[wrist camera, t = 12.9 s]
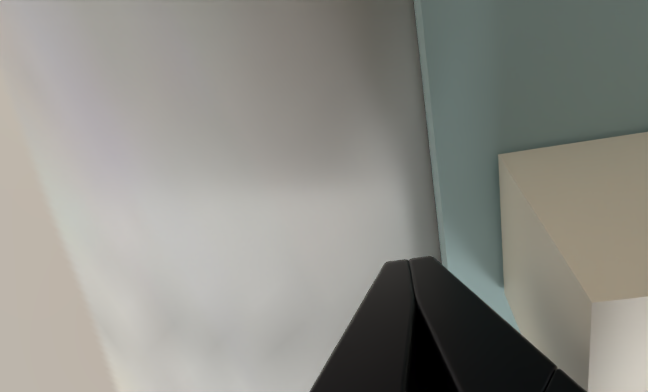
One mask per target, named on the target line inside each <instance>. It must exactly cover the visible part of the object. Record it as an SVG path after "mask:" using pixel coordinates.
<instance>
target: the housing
mask: <svg viewBox="0 0 648 392" xmlns="http://www.w3.org/2000/svg"><path fill="white" fill-rule="evenodd" d="M414 8H415V17H416V27H417V36H418V45H419V55H420V64H421V73H422V83H423V92H424V101H425V111H426V120H427V129H428V139H429V148H430V157H431V167H432V176H433V185H434V195H435V204H436V213H437V223H438V232H439V241H440V250H441V260H442V265H443V266H444V267H445V268H446V269H448V270H449V271H450V272H451V273H452V274H453V275H454V276H456V277H457V278H458V279H459V280H460V281H461V282H462V283H463V284H465V285H466V286H467V287H468V288H469V289H470V290H471V291H473V292H474V293H475V294H476V295H477V296H478V297H479V298H480V299H482V300H483V301H484V302H485V303H486V304H487V305H488V306H490V307H491V308H492V309H493V310H494V311H495V312H496V313H498V314H499V315H500V316H501V317H502V318H503V319H504V320H505V321H507V322H508V323H509V324H510V325H511V326H512V327H513V328H515V329H516V330H517V331H518V332H519V333H520V330H519V328H518V325H517V323H516V321H515V318H514V316H513V313H512V311H511V308H510V306H509V304H508V301H507V299H506V296H505V294H504V277H503V254H502V232H501V209H500V187H499V165H498V154H504V153H510V152H517V151H523V150H530V149H537V148H543V147H550V146H557V145H563V144H570V143H576V142H583V141H590V140H596V139H603V138H610V137H616V136H623V135H629V134H636V133H643V132H648V0H414ZM520 334H521V333H520Z"/></svg>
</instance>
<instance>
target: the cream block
mask: <svg viewBox="0 0 648 392" xmlns="http://www.w3.org/2000/svg"><path fill="white" fill-rule="evenodd" d="M498 165H499V187H500V209H501V232H502V254H503V277H504V294H505V296H506V299H507V301H508V304H509V306H510V308H511V311H512V313H513V316H514V318H515V321H516V323H517V325H518V328H519V330H520V333H521V335H523V336H524V337H525V338H526V339H527V340H528V341H529V342H530V343H532V344H533V345H534V346H535V347H536V348H537V349H538V350H540V351H541V352H542V353H543V354H544V355H545V356H546V357H548V358H549V359H550V360H551V361H552V362H553V363H554V364H555V365H556V366H557V369H561V370H563V371H564V372H565V373H566V374H567V375H568V376H569V377H570V378H572V379H573V380H574V381H575V382H576V383H577V384H578V385H580V386H581V387H582V388H583V389H584V390H586V391H587V392H648V132H643V133H636V134H629V135H623V136H616V137H610V138H603V139H596V140H590V141H583V142H576V143H570V144H563V145H557V146H550V147H543V148H537V149H530V150H523V151H517V152H510V153H504V154H498Z"/></svg>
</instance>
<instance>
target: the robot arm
mask: <svg viewBox="0 0 648 392" xmlns="http://www.w3.org/2000/svg"><path fill="white" fill-rule="evenodd" d="M310 392H587V391H586V390H584V389H583V388H582V387H581V386H580V385H578V384H577V383H576V382H575V381H574V380H573V379H572V378H570V377H569V376H568V375H567V374H566V373H565V372H564V371H563V370H561V369H557V366H556V365H555V364H554V363H553V362H552V361H551V360H550V359H549V358H548V357H546V356H545V355H544V354H543V353H542V352H541V351H540V350H538V349H537V348H536V347H535V346H534V345H533V344H532V343H530V342H529V341H528V340H527V339H526V338H525V337H524V336H523V335H521V334H520V333H519V332H518V331H517V330H516V329H515V328H513V327H512V326H511V325H510V324H509V323H508V322H507V321H505V320H504V319H503V318H502V317H501V316H500V315H499V314H498V313H496V312H495V311H494V310H493V309H492V308H491V307H490V306H488V305H487V304H486V303H485V302H484V301H483V300H482V299H480V298H479V297H478V296H477V295H476V294H475V293H474V292H473V291H471V290H470V289H469V288H468V287H467V286H466V285H465V284H463V283H462V282H461V281H460V280H459V279H458V278H457V277H456V276H454V275H453V274H452V273H451V272H450V271H449V270H448V269H446V268H445V267H444V266H443V265H442V264H441V263H440V262H438V261H437V260H436V259H435V258H434V257H432V256H426V257H419V258H412V259H410V260H407V259H404V260H397V261H389V262H386V263H385V264H384V265H383V267H382V269H381V271H380V272H379V274H378V276H377V277H376V279H375V281H374V283H373V284H372V286H371V288H370V289H369V291H368V293H367V294H366V296H365V298H364V300H363V301H362V303H361V305H360V306H359V308H358V310H357V312H356V313H355V315H354V317H353V318H352V320H351V322H350V324H349V325H348V327H347V329H346V330H345V332H344V334H343V335H342V337H341V339H340V341H339V342H338V344H337V346H336V347H335V349H334V351H333V353H332V354H331V356H330V358H329V359H328V361H327V363H326V364H325V366H324V368H323V370H322V371H321V373H320V375H319V376H318V378H317V380H316V382H315V383H314V385H313V387H312V388H311V390H310Z"/></svg>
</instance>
